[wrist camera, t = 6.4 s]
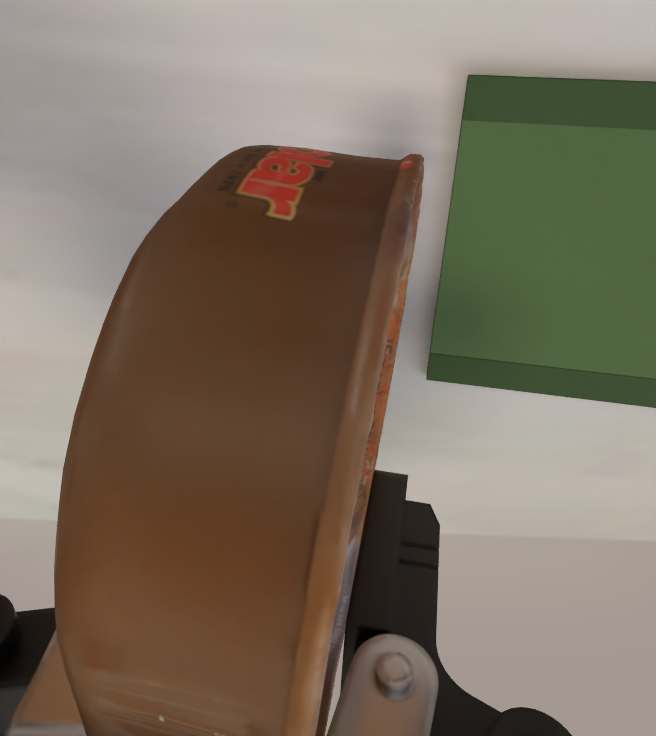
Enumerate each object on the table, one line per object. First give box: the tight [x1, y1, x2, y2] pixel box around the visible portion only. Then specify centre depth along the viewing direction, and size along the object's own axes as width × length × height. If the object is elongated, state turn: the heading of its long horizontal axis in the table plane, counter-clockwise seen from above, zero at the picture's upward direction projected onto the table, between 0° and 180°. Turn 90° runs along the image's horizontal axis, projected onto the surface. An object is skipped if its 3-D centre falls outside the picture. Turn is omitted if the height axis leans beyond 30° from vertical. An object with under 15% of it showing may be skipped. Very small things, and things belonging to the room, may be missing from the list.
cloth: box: [426, 75, 656, 408], centre depth 24 cm, size 14×14×1 cm
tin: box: [54, 145, 424, 736], centre depth 10 cm, size 15×3×8 cm, turn 174°
